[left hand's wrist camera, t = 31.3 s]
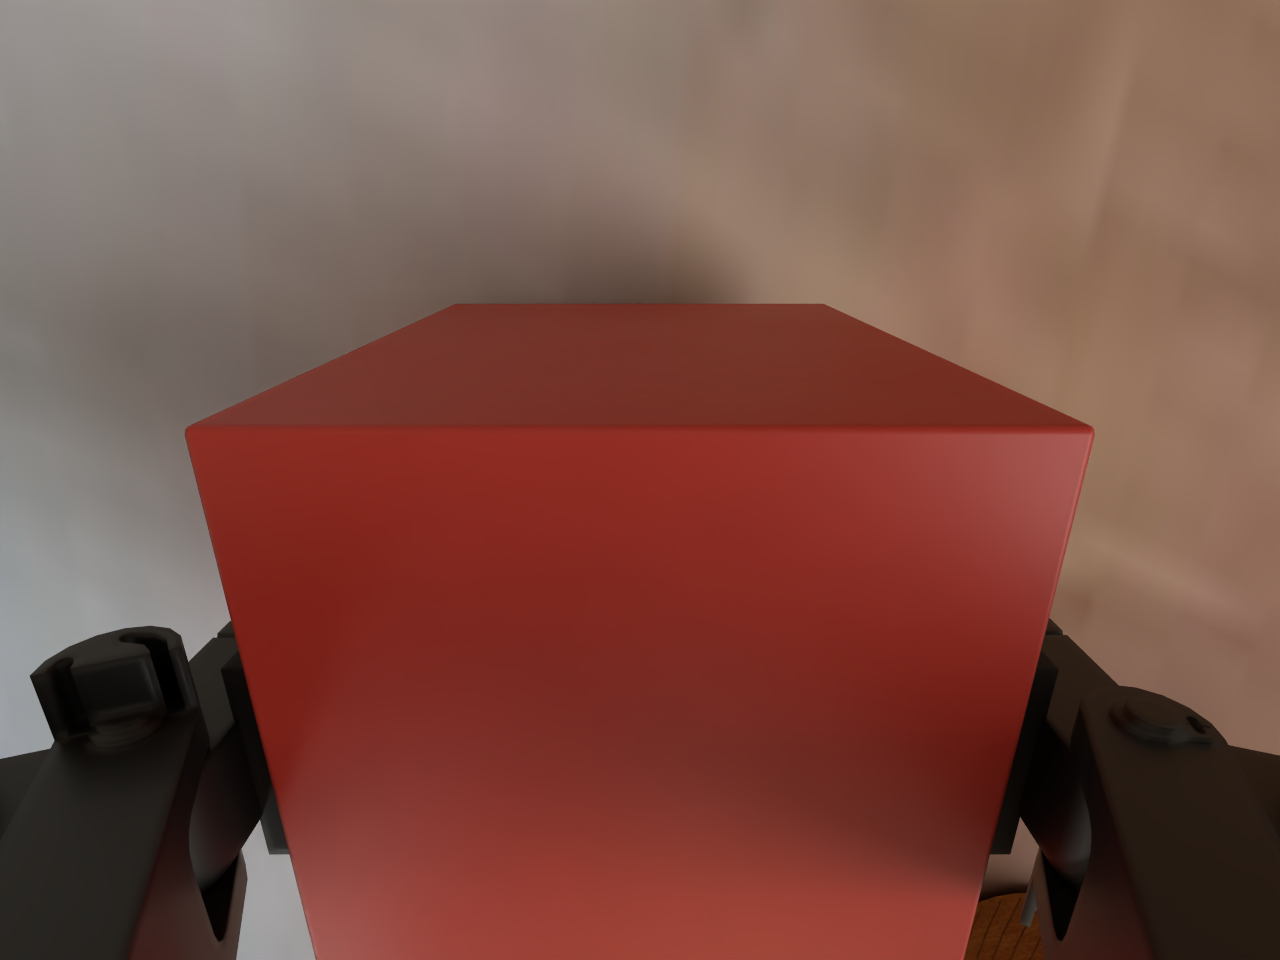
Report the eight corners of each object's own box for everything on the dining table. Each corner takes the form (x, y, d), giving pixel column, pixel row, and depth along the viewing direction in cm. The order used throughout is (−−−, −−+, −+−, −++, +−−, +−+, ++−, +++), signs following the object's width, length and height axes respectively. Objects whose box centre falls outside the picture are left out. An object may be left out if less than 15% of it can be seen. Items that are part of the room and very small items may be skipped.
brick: (826, 303, 14) (1101, 426, 6) (792, 652, 17) (940, 1066, 9) (453, 303, 14) (178, 426, 6) (486, 652, 17) (339, 1067, 9)
